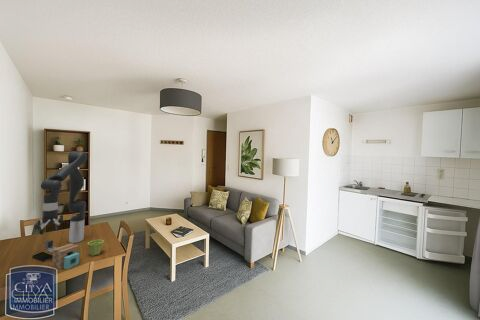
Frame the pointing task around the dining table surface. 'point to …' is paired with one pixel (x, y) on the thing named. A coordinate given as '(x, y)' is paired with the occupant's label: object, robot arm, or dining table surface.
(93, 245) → the plant pot
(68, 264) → the teal toy camera
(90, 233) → the dining table surface
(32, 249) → the dining table surface
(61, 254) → the bearing block
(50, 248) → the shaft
